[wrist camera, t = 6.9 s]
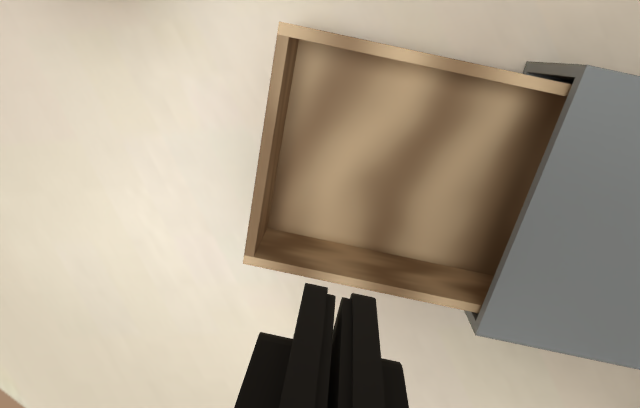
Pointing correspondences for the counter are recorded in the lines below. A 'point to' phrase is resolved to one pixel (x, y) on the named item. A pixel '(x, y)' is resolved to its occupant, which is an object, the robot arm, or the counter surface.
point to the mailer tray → (394, 166)
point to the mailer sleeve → (577, 229)
